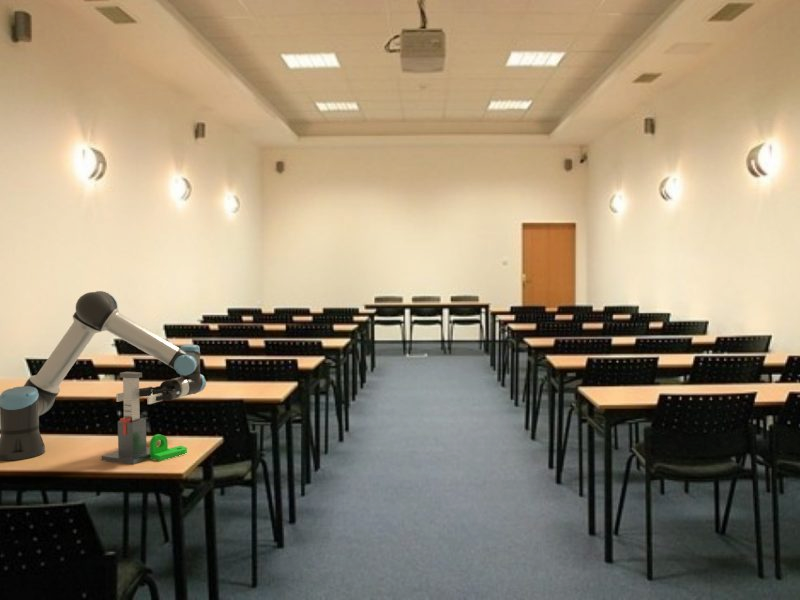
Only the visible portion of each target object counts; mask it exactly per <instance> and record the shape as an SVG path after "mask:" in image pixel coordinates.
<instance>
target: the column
mask: <svg viewBox="0 0 800 600" xmlns="http://www.w3.org/2000/svg"><path fill="white" fill-rule="evenodd" d="M119 378H120V379H121V378H122V387H123V388H122V390H123V391H122V393H123V398H124V400H123V418H131V422H133V421H137V420H140V418H141V417H140V416H141V415H140V413H141V412H140V409H141V408H140V407H141V406H140V397H139V389H140V378H143V373H142V372H138V371H137V372H136V371H124V372H120V373H119Z"/></svg>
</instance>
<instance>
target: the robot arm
mask: <svg viewBox="0 0 800 600" xmlns="http://www.w3.org/2000/svg"><path fill="white" fill-rule="evenodd" d="M118 308H119V307H118V301H117V300H116V298H115V297H114V296H113V294H110V293H109V292H106V291H103V290H102V291H101V290H100V291H98V290H97V291H92V292H86V293H84V294H83V295H81V296H79V298H78V299H77V301H76V304H75V312H74V313H73V315H72V320H73V323H72V324H71V326H70V327H69V328H68V330H67V331H66V333H65V334H64V335H63V337H62V338H61V340H60V341H59V342H58V344H57V345H56V346H55V348H54V349H53V350H52V352H51V354H50V355H49V357H47V360H46V361H44V364H42V366H41V368H40V369H39V371H38V372H37V374H35V375H31V376H29V378H28V379H27V381H26V382H25V383H24V385H23V386H22V385H21V386H16V387H12V388H8V389H6V390H3V391H2V392H1V393H0V461H18V460H19V459H20V460H25V459H30V457H31V458H35V457H38V456H41V455H43V454H44V453H45V452H46V445H45V442H44V440H43V437H42V435H41V432H40V427H39V426H40V420H39V418H40V416H42V415H44V414H46V413H47V412H49V410H51V408H52V407H53V405H54V403H55V399H56V398H57V397H58V395H59V393H60V392H61V390H60V384H61V383H62V382H63V381H64V379H65V378H66V376H67V374H68V373H69V371H70V370H71V369H72V367H73V366H74V365H75V363H76V361H77V360H78V358H80V356H81V354H82V353H83V352H84V350H85V348H86V347H87V345H88V344H89V343H90V342H91V340H92V338H93V337H94V335H96V334H97V333H101V332H105V331H106V332H108V333H110V334H112V335H114V336H116V337H118V338H120V339H121V340H123V341H125V342H127V343H128V344H130V345H131V346H134V347H136V348H137V349H138V350H141V351H142V352H144V353H146V354H147V355H149V356H151V357H153V358H154V359H156V360H158V361H159V362H162V363H163V364H165V365H167V366H168V367H170V368H172V369H174V371H176V373H177V374H178V375H179V376H180V377H176V378H171V379H167V380H163V381H162V382H161V383H160V385H156V386H154V387H153V386H148V387H141V388H140V387H139V398H142V397H146V398H147V399H146V400H147V405H152V404H155V403H159V402H160V403H161V402H163V401H172V400H175V399H178V400H180V399H181V398H183V397H186V396H190V395H195V394H198V393H201V392H202V391H203V390H204V389H206V386H207V381H206V378H205V376H204V375H203V374H201V352H200V351H201V350H200V348H201V347H200V346H199V345H198V344H184V345H181V346H180V347H178V346H176V345H175V344H173V343H171V342H170V341H168V340H166V339H164V338H163V337H161V336H159V335H158V334H156V333H154V332H152V331H151V330H149V329H147V328H146V327H144V326H143V325H140V324H139V323H137V322H135V321H134V320H132V319H130V318H129V317H127V316H125V315H124V314H121V313H120V312H119V309H118ZM116 402H118V403H119V402H124V398H123V392H120V393H116ZM20 460H19V461H20Z"/></svg>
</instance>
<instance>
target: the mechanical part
mask: <svg viewBox="0 0 800 600" xmlns="http://www.w3.org/2000/svg"><path fill="white" fill-rule="evenodd" d="M159 441H160V444H159V445H158V442H159ZM168 443H169V442H168V438H167V436H165V435H164V434H163V435H162V434H159V433H158V434H154V436H152V437H151V438H150V441H149V448H150V458H149V459H151V460H154V459H155V461H157V460H158V462H162V460H163V461H166V460H165V459H167V460H169V459H168V458H171V459H173V458H172V457H175V456H178V457H180V456H179V455H182V454H185V453H187V454H188V447H186V446H183V445H179V446H175V447H170V448H168ZM185 455H186V454H185ZM182 456H183V455H182ZM175 458H176V457H175Z"/></svg>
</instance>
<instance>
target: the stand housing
mask: <svg viewBox="0 0 800 600" xmlns="http://www.w3.org/2000/svg"><path fill="white" fill-rule="evenodd" d="M117 442H118V443H117V445H118V446H117V449H118V450H115V451H113V452H110V453H107V454H104V455H100V456H101V459H100V460H101V461H103V462H110V463H111V462H112V463H120V464H127V465H128V464H129V465H136V464H138V463H140V462H141V463H142V462H144V461H146V460H149V459H151V458H150V447H147V418H141V417H140V420H137V421H133V422H131V418H124V417H122V418H120V419H119V420H118V421H117Z"/></svg>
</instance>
